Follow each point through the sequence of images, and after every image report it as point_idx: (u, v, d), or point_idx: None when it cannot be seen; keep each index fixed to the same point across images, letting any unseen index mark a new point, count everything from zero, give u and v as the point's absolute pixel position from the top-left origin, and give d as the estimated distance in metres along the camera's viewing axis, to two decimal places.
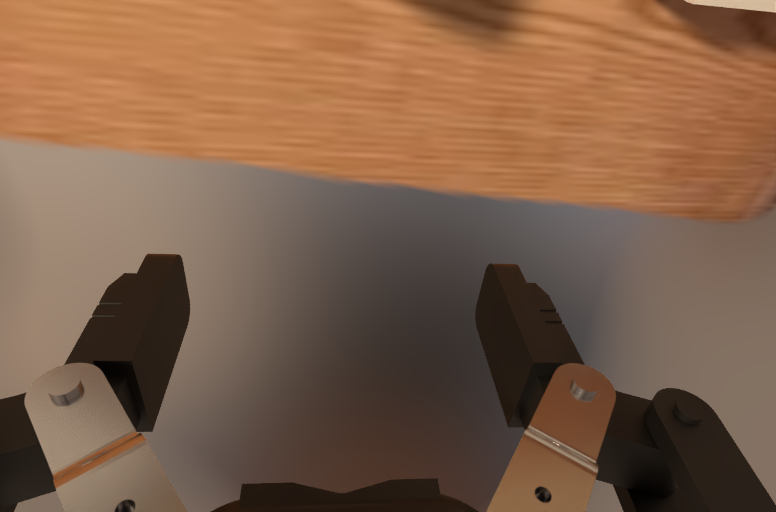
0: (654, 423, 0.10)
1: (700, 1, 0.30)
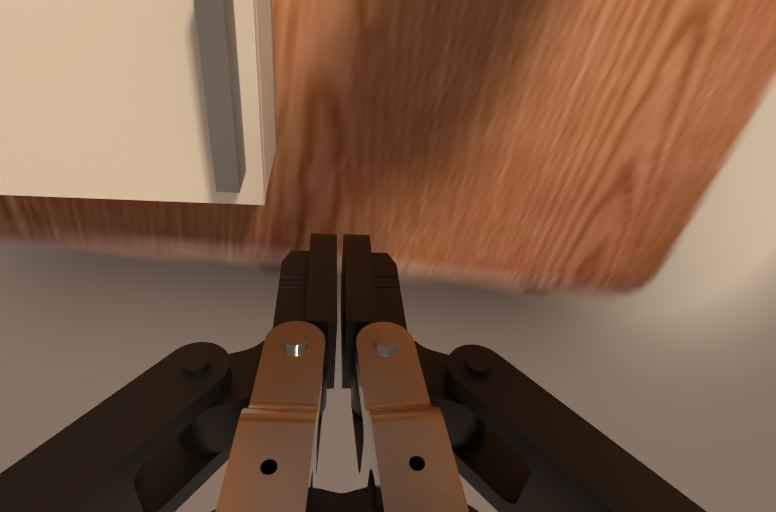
0: (459, 391, 0.10)
1: None
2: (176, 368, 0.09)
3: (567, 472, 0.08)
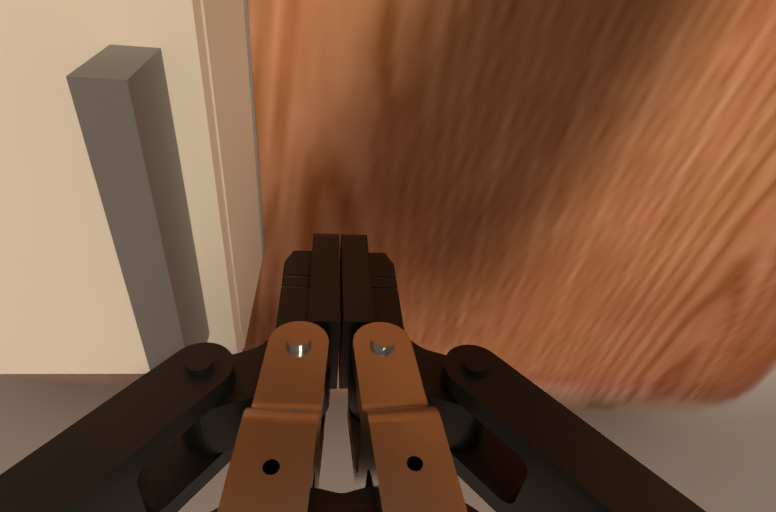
0: (456, 392, 0.10)
1: None
2: (180, 368, 0.09)
3: (565, 472, 0.08)
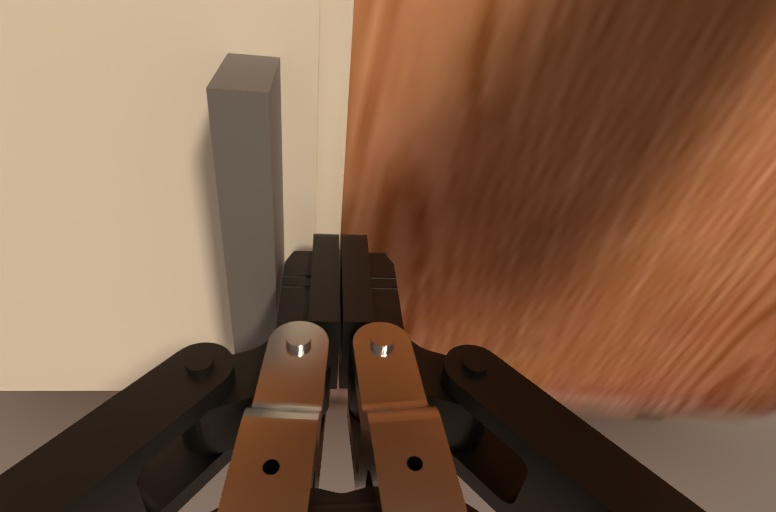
0: (456, 392, 0.10)
1: None
2: (180, 368, 0.09)
3: (565, 472, 0.08)
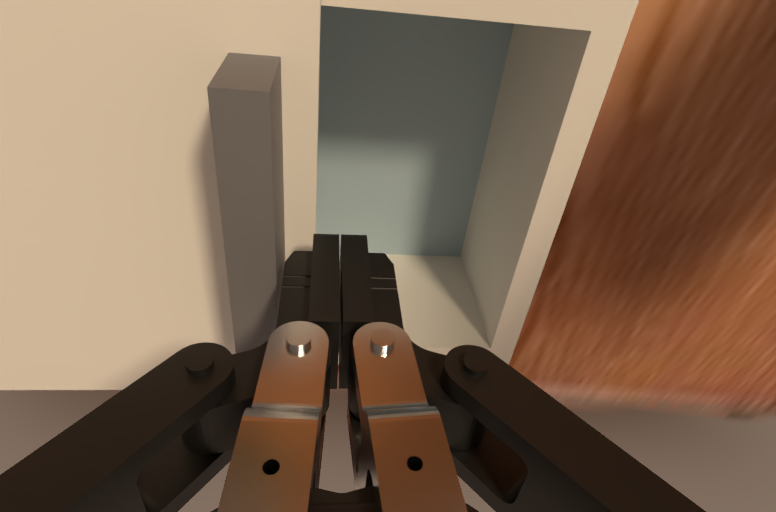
0: (456, 392, 0.10)
1: None
2: (180, 368, 0.09)
3: (564, 472, 0.08)
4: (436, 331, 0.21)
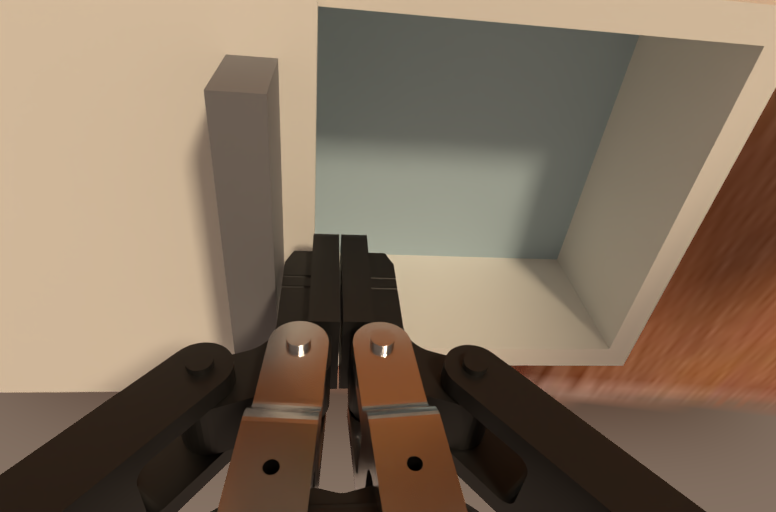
0: (456, 391, 0.10)
1: None
2: (180, 368, 0.09)
3: (565, 472, 0.08)
4: (554, 333, 0.21)
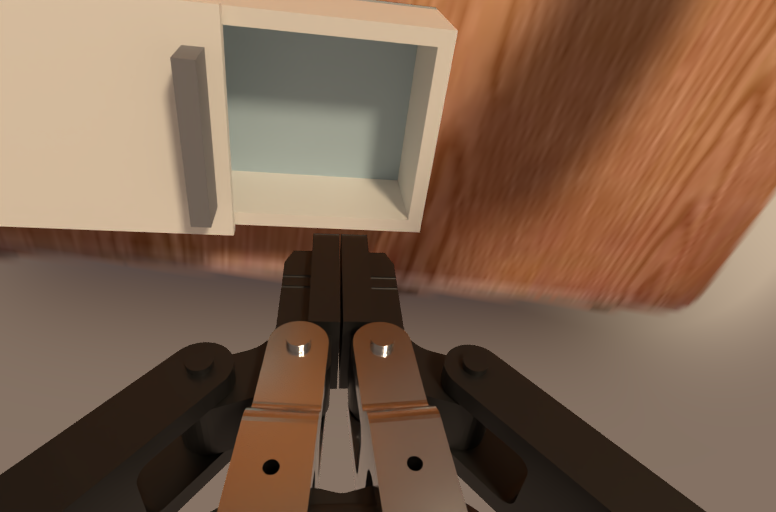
0: (456, 391, 0.10)
1: None
2: (180, 368, 0.09)
3: (565, 472, 0.08)
4: (378, 212, 0.37)
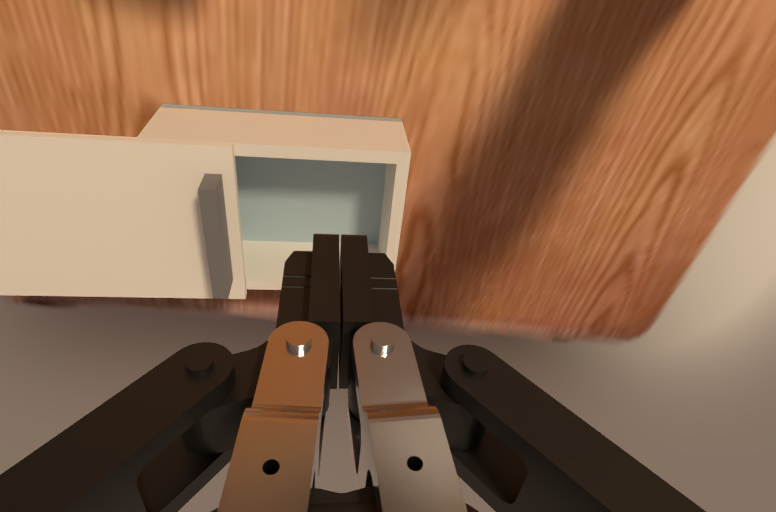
0: (456, 392, 0.10)
1: None
2: (180, 368, 0.09)
3: (565, 472, 0.08)
4: None
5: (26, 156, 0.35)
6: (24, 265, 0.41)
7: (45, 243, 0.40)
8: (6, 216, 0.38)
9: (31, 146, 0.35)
